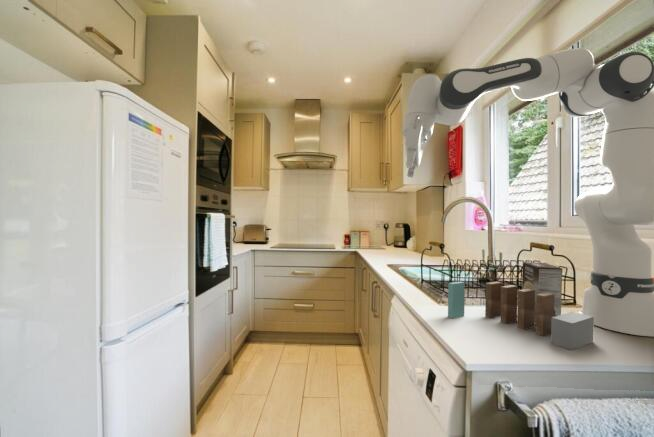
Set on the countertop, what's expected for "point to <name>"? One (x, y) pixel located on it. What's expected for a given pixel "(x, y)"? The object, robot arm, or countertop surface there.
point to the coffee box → (543, 282)
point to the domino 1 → (456, 299)
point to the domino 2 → (493, 299)
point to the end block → (572, 330)
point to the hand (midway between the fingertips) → (409, 172)
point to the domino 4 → (526, 308)
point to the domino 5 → (544, 313)
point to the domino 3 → (509, 303)
